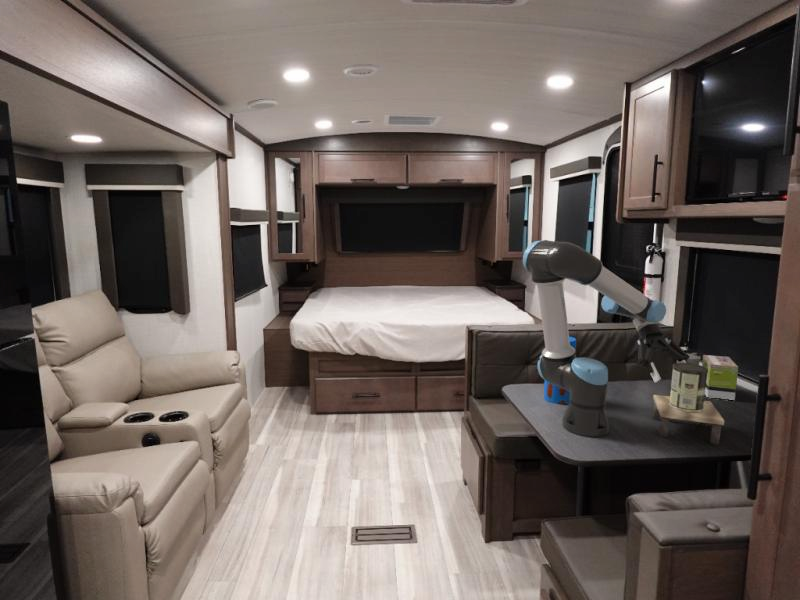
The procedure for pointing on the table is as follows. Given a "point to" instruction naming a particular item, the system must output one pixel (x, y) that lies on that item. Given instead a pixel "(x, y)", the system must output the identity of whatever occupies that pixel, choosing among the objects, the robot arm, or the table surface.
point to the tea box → (720, 377)
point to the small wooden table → (687, 416)
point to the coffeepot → (692, 357)
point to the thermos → (557, 393)
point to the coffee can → (688, 387)
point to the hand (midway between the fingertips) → (674, 379)
